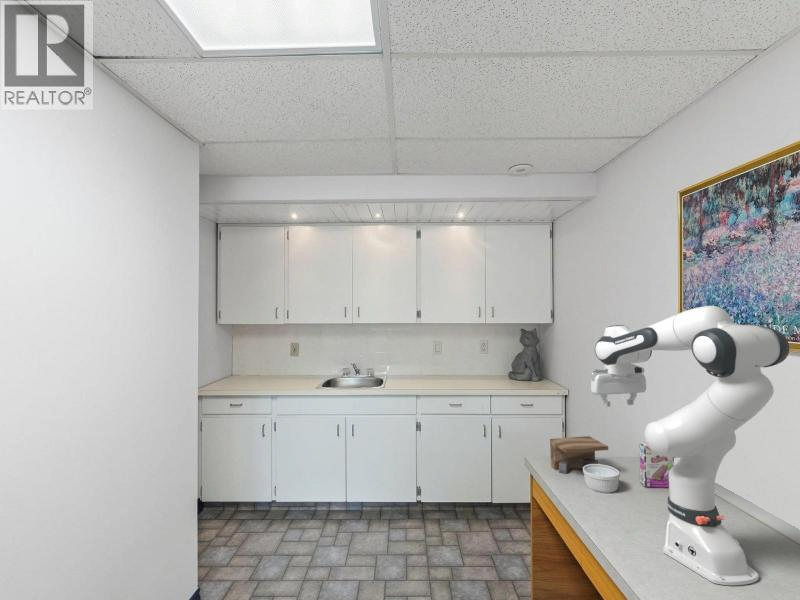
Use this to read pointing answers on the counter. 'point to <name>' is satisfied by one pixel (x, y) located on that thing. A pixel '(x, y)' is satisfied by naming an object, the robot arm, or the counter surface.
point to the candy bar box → (654, 468)
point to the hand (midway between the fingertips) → (618, 405)
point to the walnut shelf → (574, 452)
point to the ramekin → (601, 477)
